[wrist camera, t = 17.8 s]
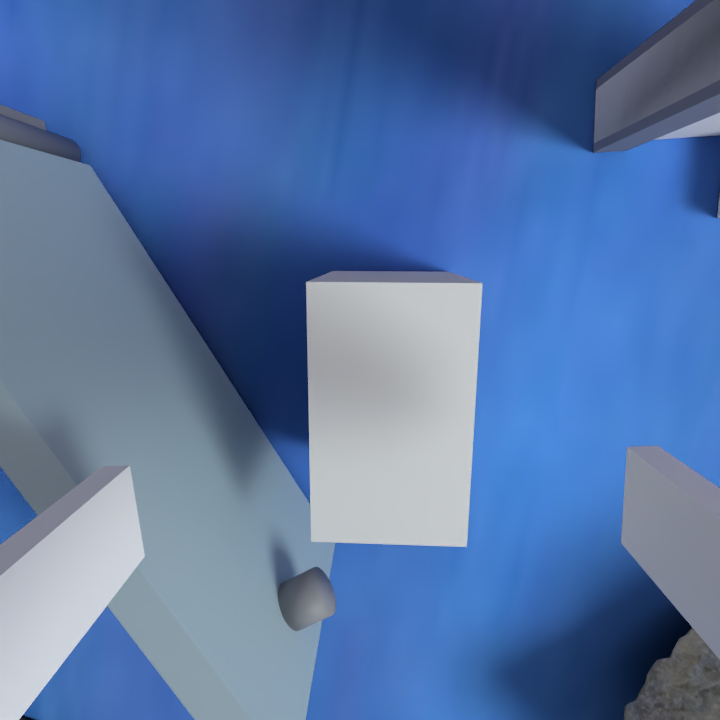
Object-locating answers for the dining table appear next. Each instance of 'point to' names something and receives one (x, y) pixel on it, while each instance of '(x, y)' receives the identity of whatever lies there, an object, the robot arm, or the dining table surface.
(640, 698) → the rock
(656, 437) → the dining table surface
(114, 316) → the door
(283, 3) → the dining table surface
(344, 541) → the white rectangular block
